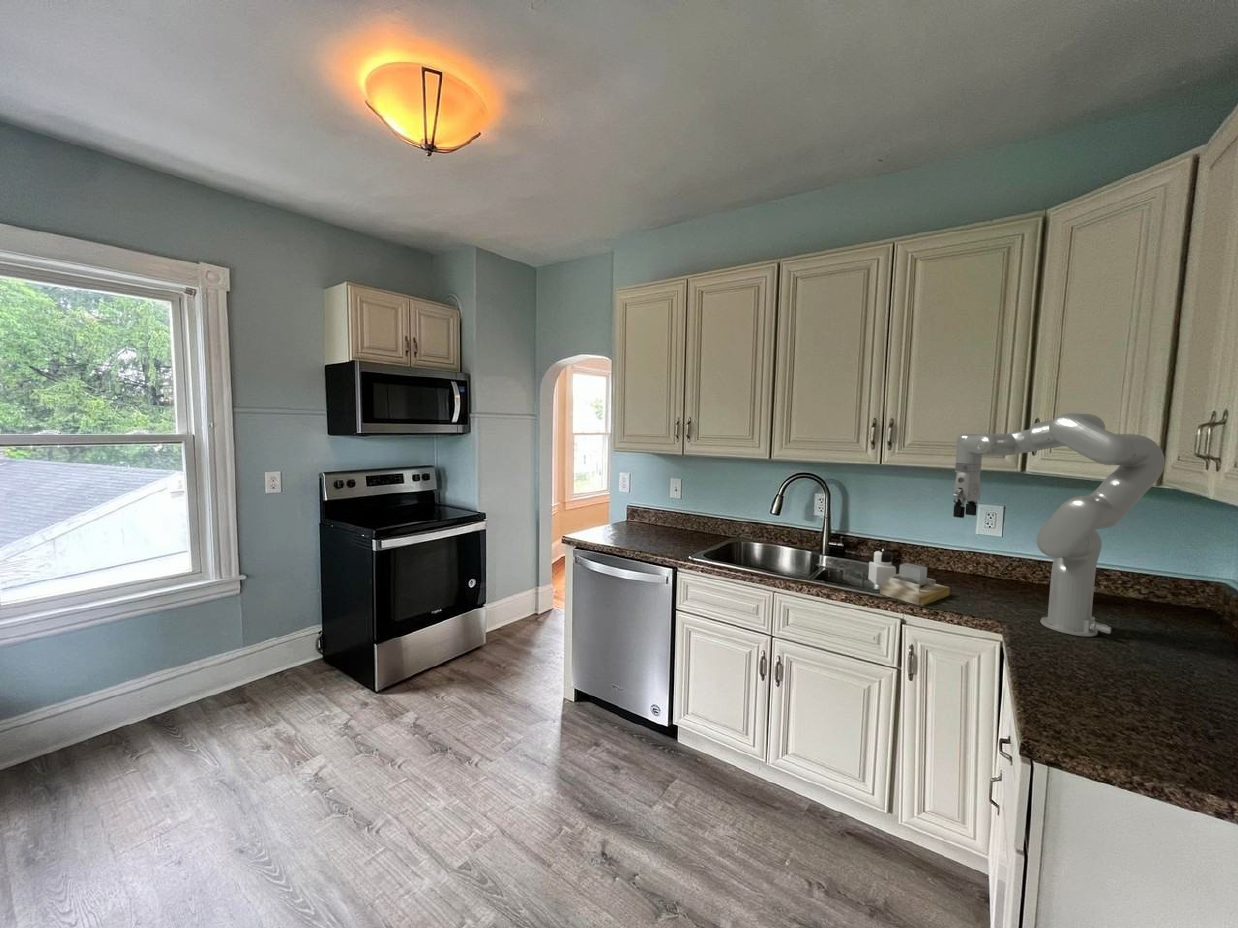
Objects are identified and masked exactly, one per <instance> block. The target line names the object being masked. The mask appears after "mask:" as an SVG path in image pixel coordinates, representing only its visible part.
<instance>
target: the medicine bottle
mask: <svg viewBox="0 0 1238 928" xmlns="http://www.w3.org/2000/svg"><path fill="white" fill-rule="evenodd" d="M892 559H893V554H892V553H891V552H889V551H884V550H876V551H874V552H873V561H869V562H868V563H869V564H868V580H869V581H870V582H872V583H873V584H874V585H876V586H881V585H885V584H886V583H887V577H889V576H893V575H896V574H897V572H896V571H897V568H896V566H895V565H893V564H892V563H893V562H892Z"/></svg>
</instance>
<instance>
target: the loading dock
mask: <svg viewBox="0 0 1238 928" xmlns="http://www.w3.org/2000/svg"><path fill="white" fill-rule="evenodd" d="M950 589H951V588H950V586H948V585H947V586H946V585H942V584H938V583H936V579H934V578H929V577H927V579H926V586H924V587H920V585H919V584H915V583H911V582H907V581H903V580H899V573H896V575H893V576H889V577H887V583H886V584H885V585H880V589H879V595H883V596H886V597H889V598H892V599H895V600H899V601H903V602H906V603H910V604H914V605H918V606H920V607H923V606H926V605H928V604H930V603H931V604H932V603H933V602H936V601H939V600H942V599H944V598H946V597H950V591H951V590H950Z"/></svg>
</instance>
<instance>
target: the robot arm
mask: <svg viewBox="0 0 1238 928" xmlns="http://www.w3.org/2000/svg"><path fill="white" fill-rule="evenodd" d="M1060 447H1066V448H1069V449H1070V450H1072V451H1074V452H1075V453H1078V454H1080V455H1082V456H1083V457H1086V459H1089V460H1091V461H1092V462H1094V463H1098V464H1101V465H1105V466H1118V467H1117V469H1116V470H1114V471H1113V472H1111V473H1110V474H1109V475H1108V476H1107V477H1105V478H1104V480H1103V481H1102V482H1101V484H1099V485H1098V487H1097V488H1095V490H1094V491H1093V492H1091V494H1088V495H1079V496H1075V497H1074V496H1073V497H1072V498H1069V499H1067V500H1066V501H1065V502H1063V503H1062V504H1061V505H1060V506H1059V507H1058V508H1057V510H1055V512H1054V513H1053V514H1052V516H1050V517H1049V519H1048V520H1047V521H1046V522H1045V524H1044V525H1043V526H1042V527H1041V528H1040V529H1039V532H1038V533H1037V536H1036V546H1037V548H1038V550H1039V551H1040V552H1041V553H1042V554H1043V555H1045V556H1047V557H1050V558H1052V559H1053V560H1052V561H1053V562H1052V566H1051V574H1050V584H1049V585H1050V586H1049V597H1048V608H1047V609H1048V610H1047V616H1043V617H1041V618H1040V623H1041V625H1043V626H1044V627H1046V628H1047V629H1051V630H1053V631H1055V632H1060V633H1062V634H1067V635H1072V636H1078V637H1095V636H1097V635H1098V631H1099V632H1101V633H1105V634H1108V635H1110V634H1111V633H1112V627H1111V626H1109V625H1108V624H1105V623H1100V622H1097V621H1095V620H1096V618H1095V616H1093V615H1092V613H1093V603H1094V601H1093V600H1094V592H1095V591H1094V590H1095V581H1096V571H1097V565H1098V560H1099V559H1100V554H1101V551H1102V545H1103V544H1102V541H1103V540H1102V538H1101V536H1100V534H1099V532H1098V531H1097V530H1102V529H1103V530H1104V529H1109V528H1112V527H1114V526H1117V525H1118V524H1119V523H1120V522H1121V520H1123V518H1124V517H1125V516H1126V515H1127V514H1128V513H1129V512H1130V511H1131V509H1132V508H1133V507H1135V505H1137V503H1138V502H1139V501H1140V499H1141V498H1143V496H1144V495H1145V494H1146V493H1147V492H1148V491H1149V490H1150V489H1151V488H1152V487H1153V485H1155V483H1156V482H1157V481H1158V479H1159V478H1160V477H1161V476H1162V474H1163V471H1164V468H1165V463H1166V461H1165V456H1164V453H1163V451H1162V448H1161V447H1160V446H1159V444H1157V442H1156V441H1154V439H1151V438H1149V437H1147V436H1144V435H1141V434H1134V433H1133V434H1132V433H1113V432H1111V431H1108V430H1106V425H1105V422H1104V421H1103V420H1102V418H1101V417H1099V416H1097V415H1094V414H1091V413H1077V412H1073V413H1071V412H1069V413H1063V414H1060V415H1057V416H1056V417H1055V418H1053V419H1051V420H1045V421H1041V422H1040V421H1039V422H1036V423H1033V424H1032V425H1031V426H1030V427H1029V428H1028V429H1023V430H1021V431H1015V432H1010V433H1009V432H1008V433H982V434H981V433H980V434H978V433H960V434H958V436H957V439H956V448H955V449H956V451H955V453H956V455H955V464H954V465H955V466H954V471H955V472H954V473H956V475H955V482H954V489H953V492H954V493H953V495H952V496H953V517H954V518H960V519H964V518H965V515H968V516H973V517H975V516H977V506H978V505H977V504H978V501H979V500H980V498H981V475H980V474H981V473H982V459H983V456H984V457H985V456H986V457H988V456H989V457H990V456H991V457H992V456H993V457H994V456H995V457H996V456H997V457H998V456H1000V457H1001V456H1013V455H1020V454H1026V453H1032V452H1036V451H1042V450H1047V449H1049V450H1050V449H1055V448H1060Z"/></svg>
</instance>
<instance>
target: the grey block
mask: <svg viewBox="0 0 1238 928" xmlns="http://www.w3.org/2000/svg"><path fill="white" fill-rule="evenodd" d="M898 574H899V580H903V581H907V582H911V583H915V584H919V585H920V587H924V586H926V579H927V578H928V577H927V576H928V567H926V566H922V565H919V564H918V565H917V564H915V563H914V564H913V563H910V562H904V563H901V564H899V573H898Z"/></svg>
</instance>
